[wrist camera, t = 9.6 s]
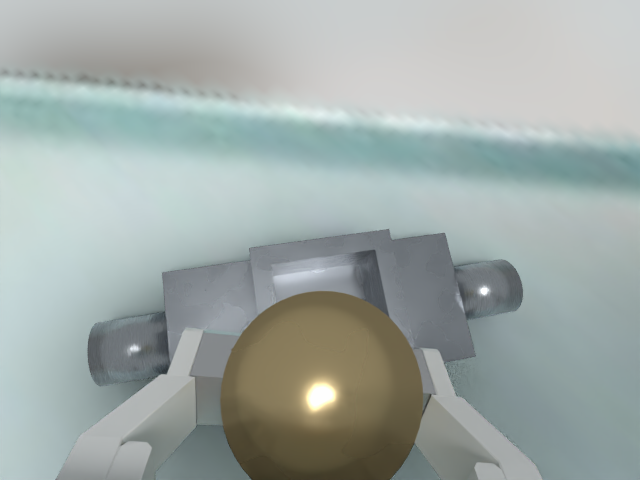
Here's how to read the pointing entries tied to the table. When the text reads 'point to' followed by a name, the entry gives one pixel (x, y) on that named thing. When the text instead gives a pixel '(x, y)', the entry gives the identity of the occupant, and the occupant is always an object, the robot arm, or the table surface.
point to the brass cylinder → (321, 391)
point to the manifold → (307, 276)
